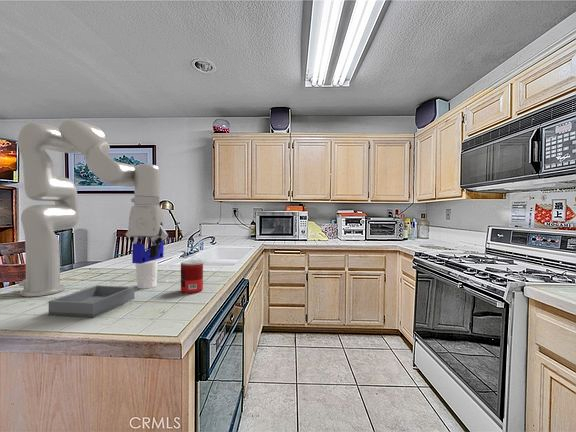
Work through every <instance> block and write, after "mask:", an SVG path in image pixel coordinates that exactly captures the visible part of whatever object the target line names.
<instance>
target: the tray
mask: <svg viewBox="0 0 576 432" xmlns="http://www.w3.org/2000/svg"><path fill="white" fill-rule="evenodd" d="M134 299H135V286H124V285H123V286H121V285H119V286H118V285H101V284H100V285H99V284H95V285H93V286H91V287H87V288H84V289H82V290H78V291H75V292H72V293H69V294H65V295H63V296H61V297H57V298H54V299H52V300H48V316H54V315H56V316H55V317H72V318H87V319H94V318H96V317H99V316H100V314H101V315H102V313H103V314H105V313H107V312H109V311H111V310H114V309H115V308H117V307H120V306H122V305H124V304H126V303H128V302H130V301H133V300H134Z"/></svg>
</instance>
